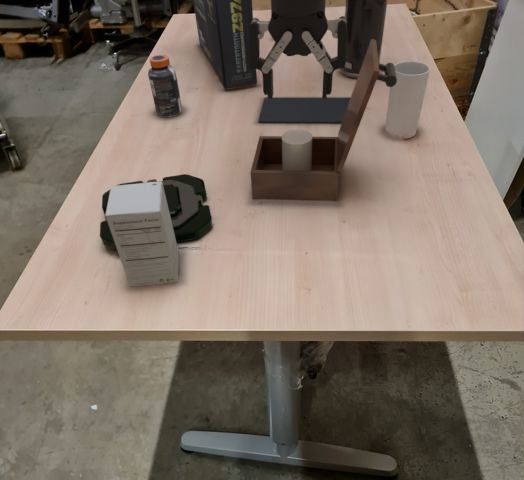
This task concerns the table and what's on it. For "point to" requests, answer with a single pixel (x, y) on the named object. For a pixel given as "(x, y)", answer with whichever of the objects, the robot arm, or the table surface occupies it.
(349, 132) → the bin lid
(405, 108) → the white cylindrical cup
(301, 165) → the canister
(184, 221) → the clover-shaped pad
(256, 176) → the bread bin
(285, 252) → the table surface
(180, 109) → the pill bottle
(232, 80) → the box
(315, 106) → the mat
